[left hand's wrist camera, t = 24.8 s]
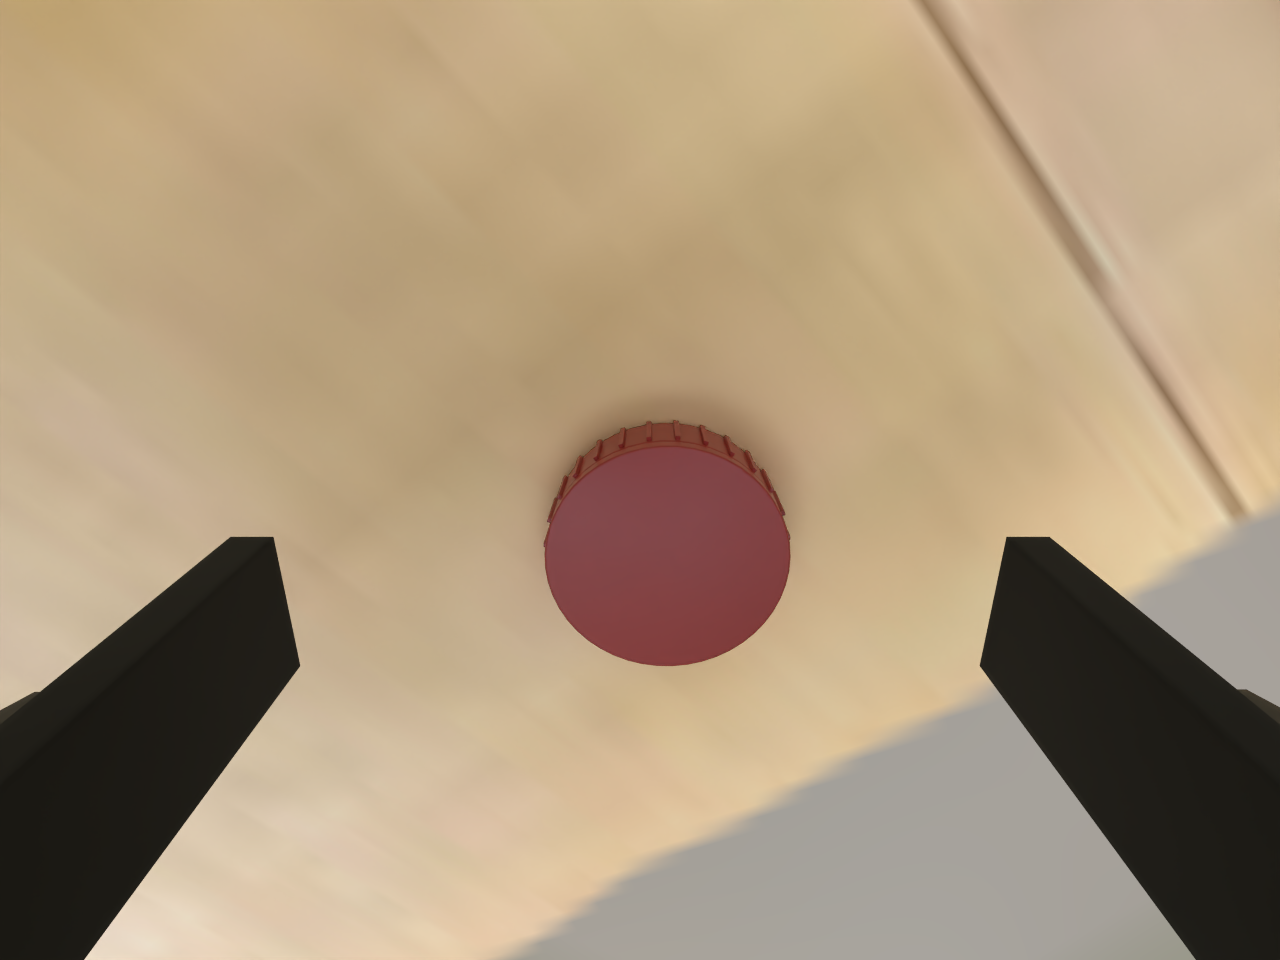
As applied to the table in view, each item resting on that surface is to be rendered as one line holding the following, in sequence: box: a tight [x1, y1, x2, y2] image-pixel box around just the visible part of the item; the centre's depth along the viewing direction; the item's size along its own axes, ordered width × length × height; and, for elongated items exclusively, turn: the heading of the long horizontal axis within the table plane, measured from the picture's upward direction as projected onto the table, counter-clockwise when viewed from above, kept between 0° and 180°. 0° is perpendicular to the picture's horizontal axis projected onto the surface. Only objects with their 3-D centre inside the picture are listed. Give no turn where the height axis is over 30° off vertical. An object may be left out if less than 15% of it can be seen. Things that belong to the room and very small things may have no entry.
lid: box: [544, 421, 790, 666], centre depth 16 cm, size 6×6×2 cm
